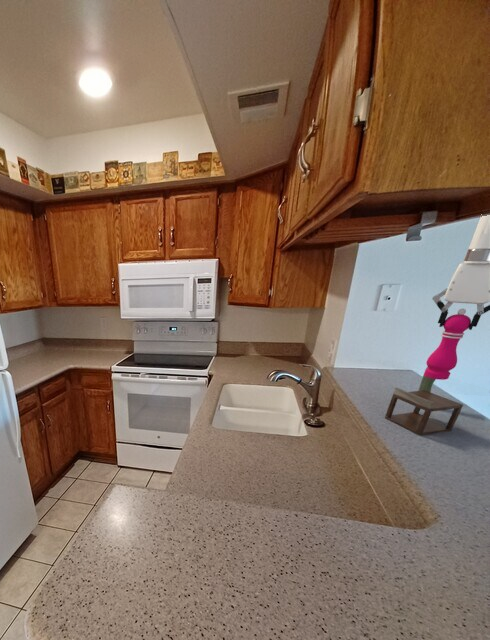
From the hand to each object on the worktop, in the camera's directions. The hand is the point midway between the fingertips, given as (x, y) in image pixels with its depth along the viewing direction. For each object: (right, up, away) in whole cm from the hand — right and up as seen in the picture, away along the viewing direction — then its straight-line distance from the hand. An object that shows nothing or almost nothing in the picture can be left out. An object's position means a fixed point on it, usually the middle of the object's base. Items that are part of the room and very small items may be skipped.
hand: (455, 327), depth 95 cm
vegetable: (+12, -20, +28) cm, 37 cm away
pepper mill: (0, -13, +7) cm, 15 cm away
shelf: (-1, -28, +14) cm, 31 cm away
